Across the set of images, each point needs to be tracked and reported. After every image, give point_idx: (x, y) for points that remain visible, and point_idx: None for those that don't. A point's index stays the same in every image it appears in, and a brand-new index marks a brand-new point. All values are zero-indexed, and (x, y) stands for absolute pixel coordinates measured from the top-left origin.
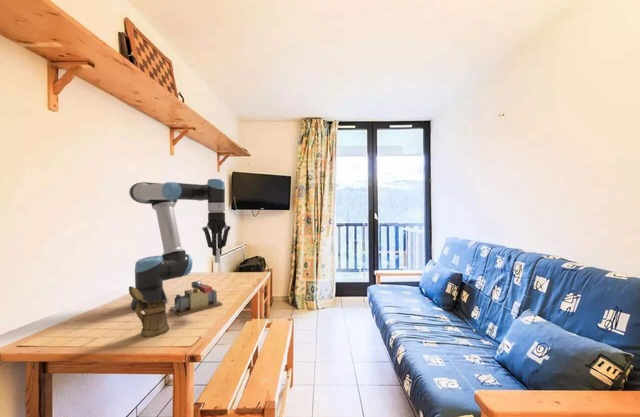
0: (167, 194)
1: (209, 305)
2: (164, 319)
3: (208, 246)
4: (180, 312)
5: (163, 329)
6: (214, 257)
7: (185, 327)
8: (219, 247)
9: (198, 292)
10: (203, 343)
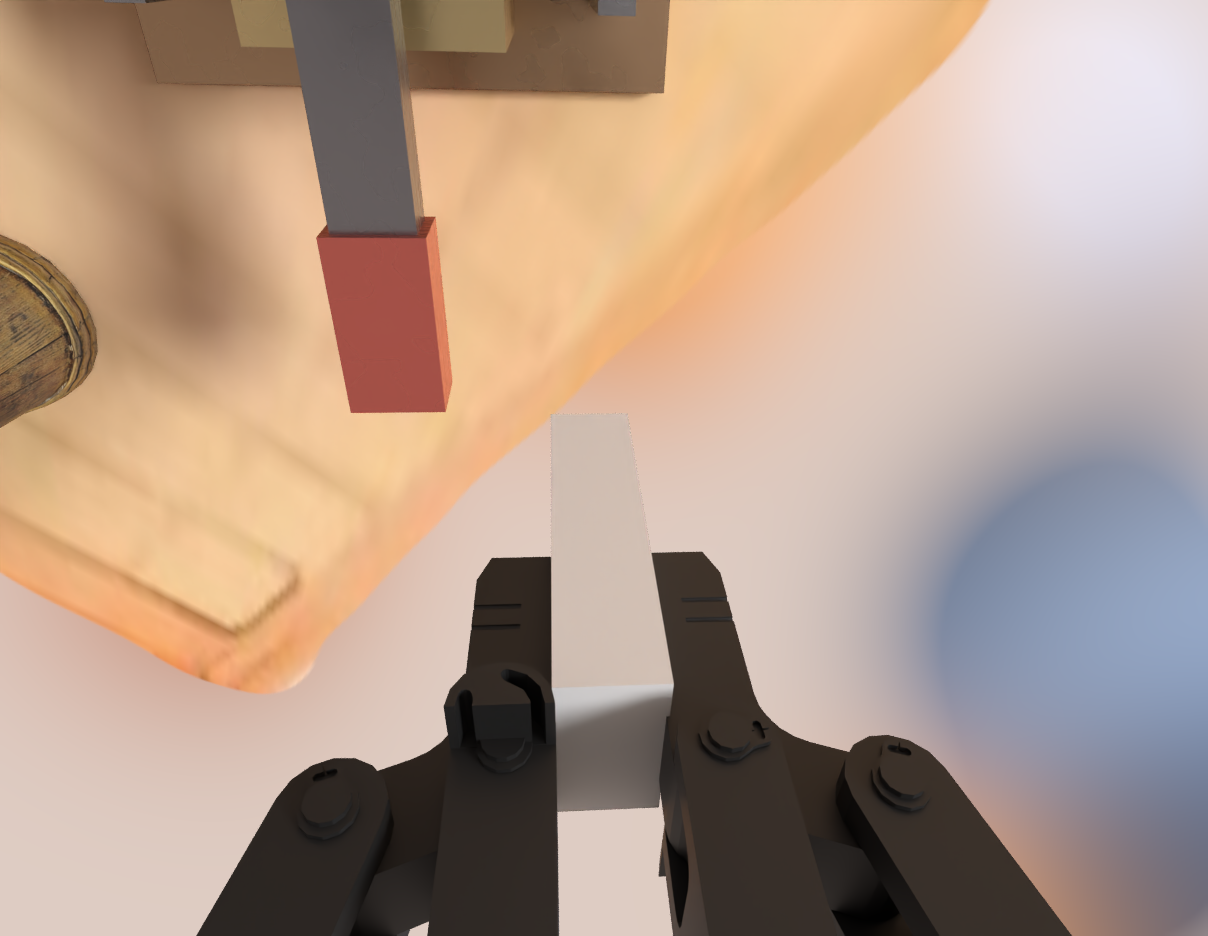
0: None
1: (523, 58)
2: (10, 419)
3: (282, 822)
4: (184, 40)
5: (46, 404)
6: (551, 487)
7: (222, 395)
8: (665, 824)
9: None
10: (296, 643)
